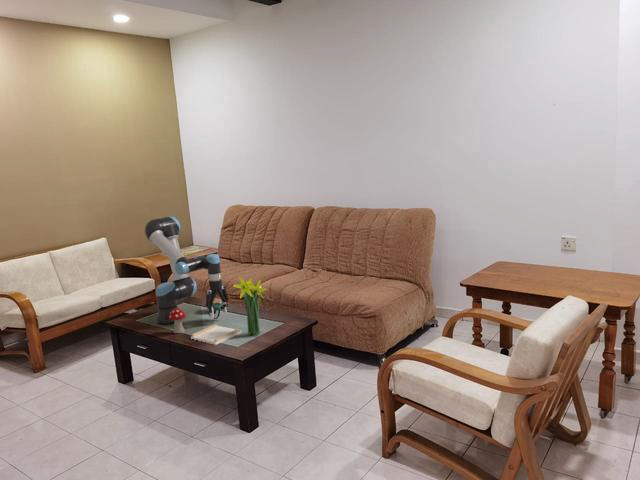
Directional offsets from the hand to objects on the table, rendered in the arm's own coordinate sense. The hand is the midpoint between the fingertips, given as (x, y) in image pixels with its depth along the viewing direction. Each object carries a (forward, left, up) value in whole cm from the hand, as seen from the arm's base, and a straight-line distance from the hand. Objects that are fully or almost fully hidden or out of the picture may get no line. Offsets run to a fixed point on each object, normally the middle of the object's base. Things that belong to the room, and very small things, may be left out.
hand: (218, 314), depth 312 cm
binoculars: (0, 0, -2) cm, 3 cm away
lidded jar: (-19, +14, -5) cm, 24 cm away
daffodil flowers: (+35, -6, -5) cm, 36 cm away
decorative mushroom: (-8, -24, -5) cm, 26 cm away
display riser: (+17, -18, -5) cm, 25 cm away
